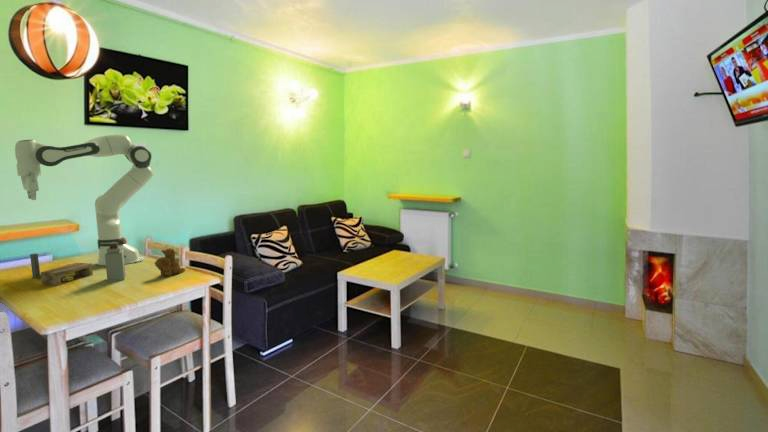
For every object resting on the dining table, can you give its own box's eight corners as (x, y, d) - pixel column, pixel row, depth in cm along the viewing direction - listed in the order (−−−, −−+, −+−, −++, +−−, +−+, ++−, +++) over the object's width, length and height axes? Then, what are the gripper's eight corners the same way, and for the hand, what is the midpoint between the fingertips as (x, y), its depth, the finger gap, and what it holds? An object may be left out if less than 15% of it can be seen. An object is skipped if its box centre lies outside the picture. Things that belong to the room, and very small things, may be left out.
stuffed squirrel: (186, 270, 209) (185, 246, 207) (171, 278, 195) (170, 252, 193) (168, 270, 209) (166, 246, 207) (152, 278, 195) (150, 252, 193)
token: (75, 278, 195) (74, 276, 195) (73, 280, 191) (73, 278, 191) (63, 279, 193) (63, 277, 193) (61, 282, 189) (61, 280, 189)
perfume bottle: (107, 281, 189) (104, 245, 186) (109, 278, 195) (106, 242, 192) (124, 279, 192) (120, 244, 189) (125, 276, 198) (122, 241, 195)
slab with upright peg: (26, 279, 192) (23, 255, 191) (41, 275, 199) (38, 252, 197) (50, 280, 190) (47, 256, 188) (64, 276, 196) (62, 253, 195)
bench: (42, 284, 184) (40, 272, 183) (77, 274, 202) (76, 262, 201) (58, 285, 182) (56, 273, 182) (92, 274, 200) (91, 263, 199)
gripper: (40, 172, 193) (43, 200, 195) (34, 171, 207) (37, 197, 208) (23, 172, 188) (27, 201, 190) (18, 171, 202) (21, 198, 204)
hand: (32, 199), depth 199 cm, fingers open, 8 cm apart
